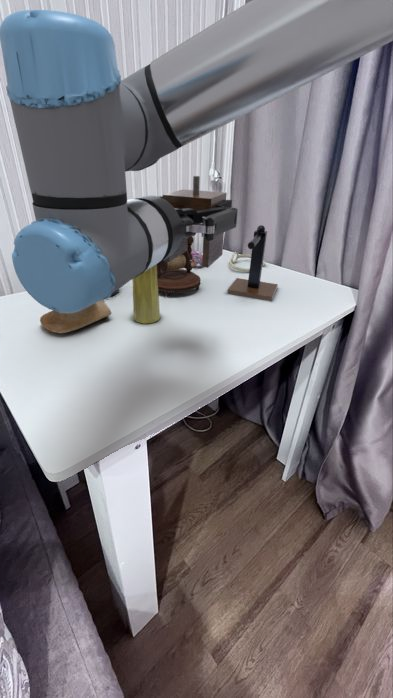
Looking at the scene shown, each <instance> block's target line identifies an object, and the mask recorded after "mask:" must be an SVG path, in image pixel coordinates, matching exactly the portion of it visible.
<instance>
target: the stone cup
mask: <svg viewBox="0 0 393 698" xmlns="http://www.w3.org/2000/svg"><path fill="white" fill-rule="evenodd" d="M111 315H112V311H111V309H110V307H109V306H108V304H106V303H105V300H103V301H98V302H97V303H95V304H93V305H91V306H89V307H87V308H85V309H83V310H81V311H78V312H74V313H60V312H57V311H53V310H50V311H48V312H46V313H45V314H43V315H41V316H40V319H39V322H40V324H41V326H42V327H43V328H44V329H46V330H47V331H49V332H52V333H58V334H66V333H67V334H68V333H71V332H73V331H77V330H79V329H81V328H85V327H87V326H89V325H92V324H94V323H95V322H98V321H101V320H102V319H105V318H107V317H109V316H111Z"/></svg>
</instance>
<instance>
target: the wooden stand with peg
mask: <svg viewBox="0 0 393 698" xmlns="http://www.w3.org/2000/svg"><path fill="white" fill-rule="evenodd" d="M200 178H201V177H200V176H199V175H193V176H192V189H185V188H183V189H180V190H175V191H172V192H168V193H163V194H162V196H163V199H165V200H166V201H168V202H169V203H170V204H171V205H172V206H173V207H174V208H178V209H184V208H191V209H196V211H197V210H204V209H210V208H216V205H217V204H219V203H222V202H224V201H226V200H227V195H228V193H227V192H224V191H208V190H200V180H201V179H200ZM224 236H225V232H224V233H222V234H219V235H217V236H215V238H214V239H213V240H211V241H208V240H205V239H204V237H202V255H203V260H202V266H201V267H202V268H207V269H209V268H210V267H211V266H212V265H213V264H214V263H215V262H217V260H219V258H220V257H222V256H223V251H224V238H225V237H224ZM187 249H188V238H184V239H183V240H182V242H181V244H180V246H179V247H178V249H177V250H176V252H175V253H174V254H173V255H171V256H170V257H168V258H167V259H165V260H164V261H165V262H171V261H172V260H174V259H175V258H177V257H178V256H180V255H181V254H183V253H184V252H186V251H187Z"/></svg>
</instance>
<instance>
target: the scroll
mask: <svg viewBox="0 0 393 698" xmlns="http://www.w3.org/2000/svg"><path fill="white" fill-rule="evenodd" d="M194 239H195V238H194V236H191V237H189V238H188V249H187V251H186V252H184V253H183V254H181V255H180V256H178V257H177V258H175V259H174V260H172V261H171V262H165V261H164V260H163V261H162V262H160V263H158V264H157V283H158V292H163V293H164V295H165V297H168V296H169V293H185V292H191V291H193V290H196V291H198V290H199V288H200V286H201V277H200V276H199V275H198V274H196V273H194V272H193V271H192V269H193V267H192V266H191V262H192V261H191V260H192V254H190V253H191V252H192V250H193V249H192V246H193V244H194ZM160 269H161V270H160Z"/></svg>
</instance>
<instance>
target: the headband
mask: <svg viewBox="0 0 393 698" xmlns="http://www.w3.org/2000/svg"><path fill="white" fill-rule="evenodd" d="M235 255H236V257H235ZM234 257H235V258H234ZM241 258H243V259H251V254H239V252H237V251H234V252H233V253H232V256H231V257H230V258H229V262H228V264H229V266H230V267H231V268H232V269H234V270H236V271H239V272H243V273H249V270H250V268H245V267H240V266H237V265H236V264H235V263H236V262H237V261H238V259H241ZM265 265H266V262H265V260H264V259H263V265H262V267H265Z"/></svg>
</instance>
